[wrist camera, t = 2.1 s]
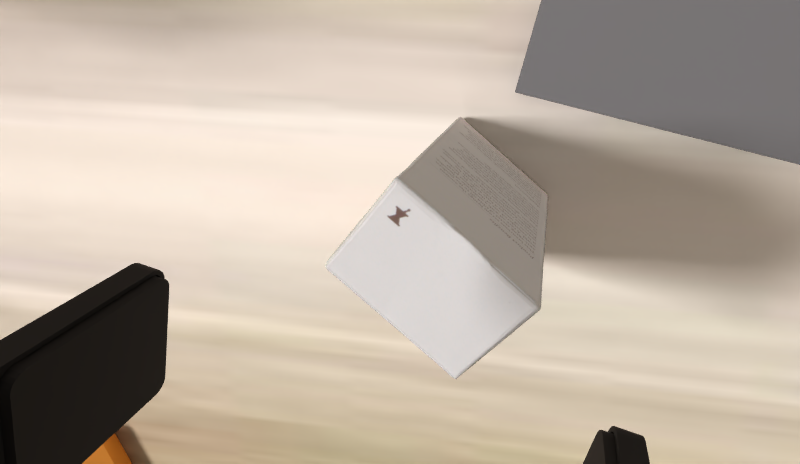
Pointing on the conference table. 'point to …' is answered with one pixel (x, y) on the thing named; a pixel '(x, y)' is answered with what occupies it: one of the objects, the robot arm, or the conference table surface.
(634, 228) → the conference table surface
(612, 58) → the mat
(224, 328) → the conference table surface
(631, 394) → the conference table surface
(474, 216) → the skincare box
